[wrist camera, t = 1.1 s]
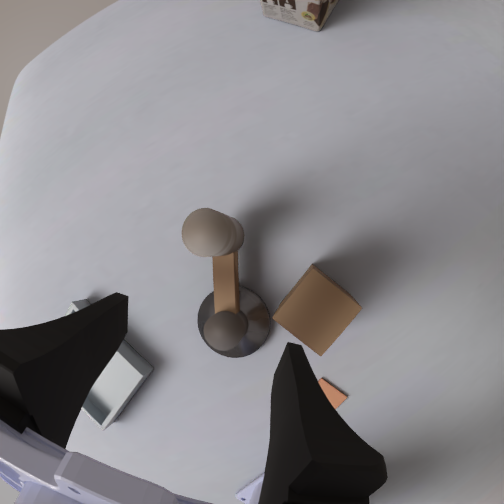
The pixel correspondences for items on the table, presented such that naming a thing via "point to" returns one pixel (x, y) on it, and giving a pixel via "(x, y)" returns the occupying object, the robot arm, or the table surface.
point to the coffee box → (299, 11)
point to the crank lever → (219, 272)
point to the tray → (113, 381)
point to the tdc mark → (332, 393)
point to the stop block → (316, 310)
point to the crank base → (256, 320)
